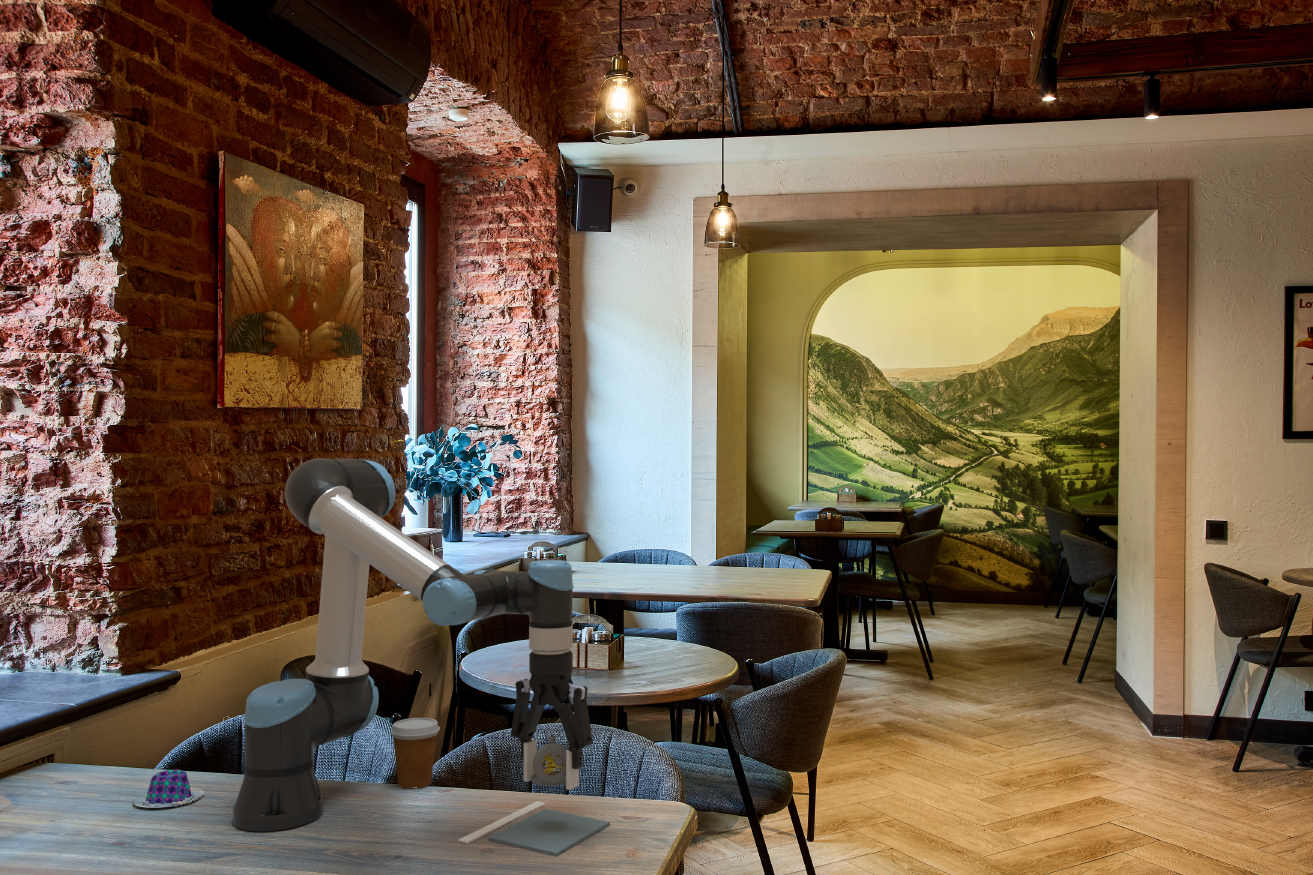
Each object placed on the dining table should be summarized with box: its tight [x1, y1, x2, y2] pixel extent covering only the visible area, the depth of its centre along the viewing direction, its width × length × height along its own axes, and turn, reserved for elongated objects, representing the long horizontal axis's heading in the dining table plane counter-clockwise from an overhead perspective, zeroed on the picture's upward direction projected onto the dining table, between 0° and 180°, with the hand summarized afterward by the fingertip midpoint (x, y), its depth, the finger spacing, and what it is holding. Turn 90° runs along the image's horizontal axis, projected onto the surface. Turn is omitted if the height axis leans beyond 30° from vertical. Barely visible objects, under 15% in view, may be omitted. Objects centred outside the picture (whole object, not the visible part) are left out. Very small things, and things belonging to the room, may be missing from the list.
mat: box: [487, 808, 611, 857], centre depth 164 cm, size 14×16×1 cm
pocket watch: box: [530, 729, 568, 787], centre depth 164 cm, size 8×8×10 cm
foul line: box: [457, 801, 547, 845], centre depth 169 cm, size 2×22×1 cm, turn 151°
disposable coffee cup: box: [390, 717, 441, 790], centre depth 190 cm, size 10×10×12 cm
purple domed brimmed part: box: [146, 769, 205, 807], centre depth 181 cm, size 12×12×5 cm
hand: (551, 783), depth 164 cm, fingers closed on pocket watch, 8 cm apart
